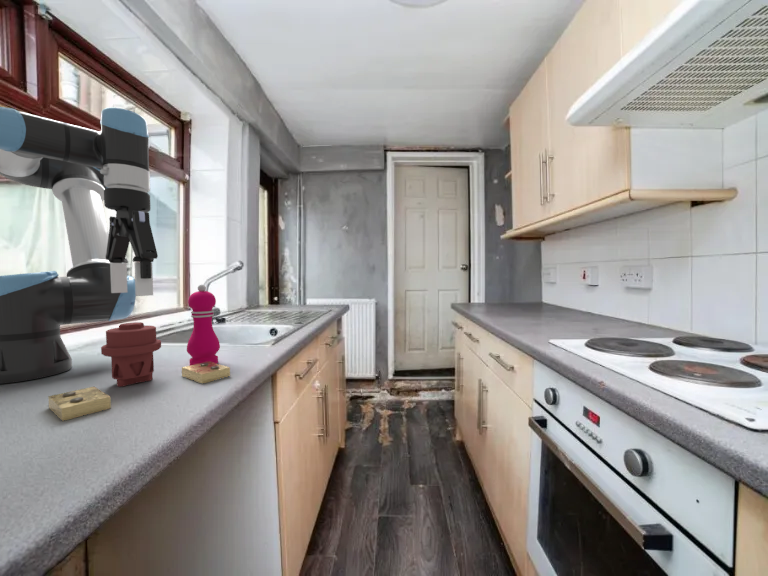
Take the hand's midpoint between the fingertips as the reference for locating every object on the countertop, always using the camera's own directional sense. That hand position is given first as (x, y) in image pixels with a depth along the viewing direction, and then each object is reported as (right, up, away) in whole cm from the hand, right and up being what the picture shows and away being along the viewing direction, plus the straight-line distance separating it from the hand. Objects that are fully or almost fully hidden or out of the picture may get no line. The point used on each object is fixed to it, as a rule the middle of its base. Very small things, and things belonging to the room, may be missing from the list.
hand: (131, 294), depth 69 cm
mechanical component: (0, -19, +1) cm, 19 cm away
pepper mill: (+8, -18, +14) cm, 24 cm away
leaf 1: (+1, -19, -13) cm, 23 cm away
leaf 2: (+13, -18, +4) cm, 23 cm away
